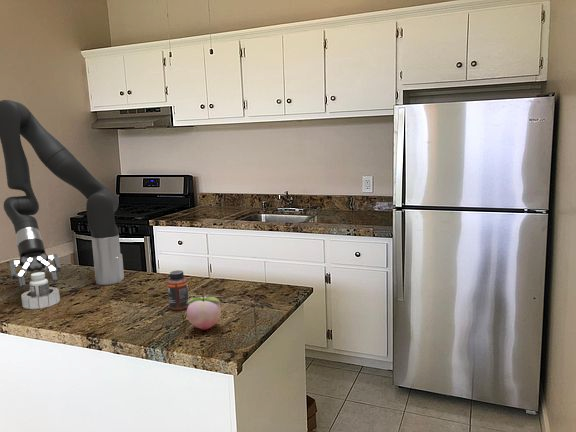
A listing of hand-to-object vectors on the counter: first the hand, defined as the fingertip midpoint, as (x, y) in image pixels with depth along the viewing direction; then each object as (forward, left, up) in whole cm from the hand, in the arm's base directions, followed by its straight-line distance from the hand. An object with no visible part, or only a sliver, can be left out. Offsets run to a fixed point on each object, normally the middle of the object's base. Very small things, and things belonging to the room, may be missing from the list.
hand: (39, 285), depth 147 cm
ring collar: (0, -1, -6) cm, 6 cm away
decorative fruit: (-54, +29, -6) cm, 61 cm away
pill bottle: (+1, -1, -6) cm, 7 cm away
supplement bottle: (-45, +11, -6) cm, 46 cm away
